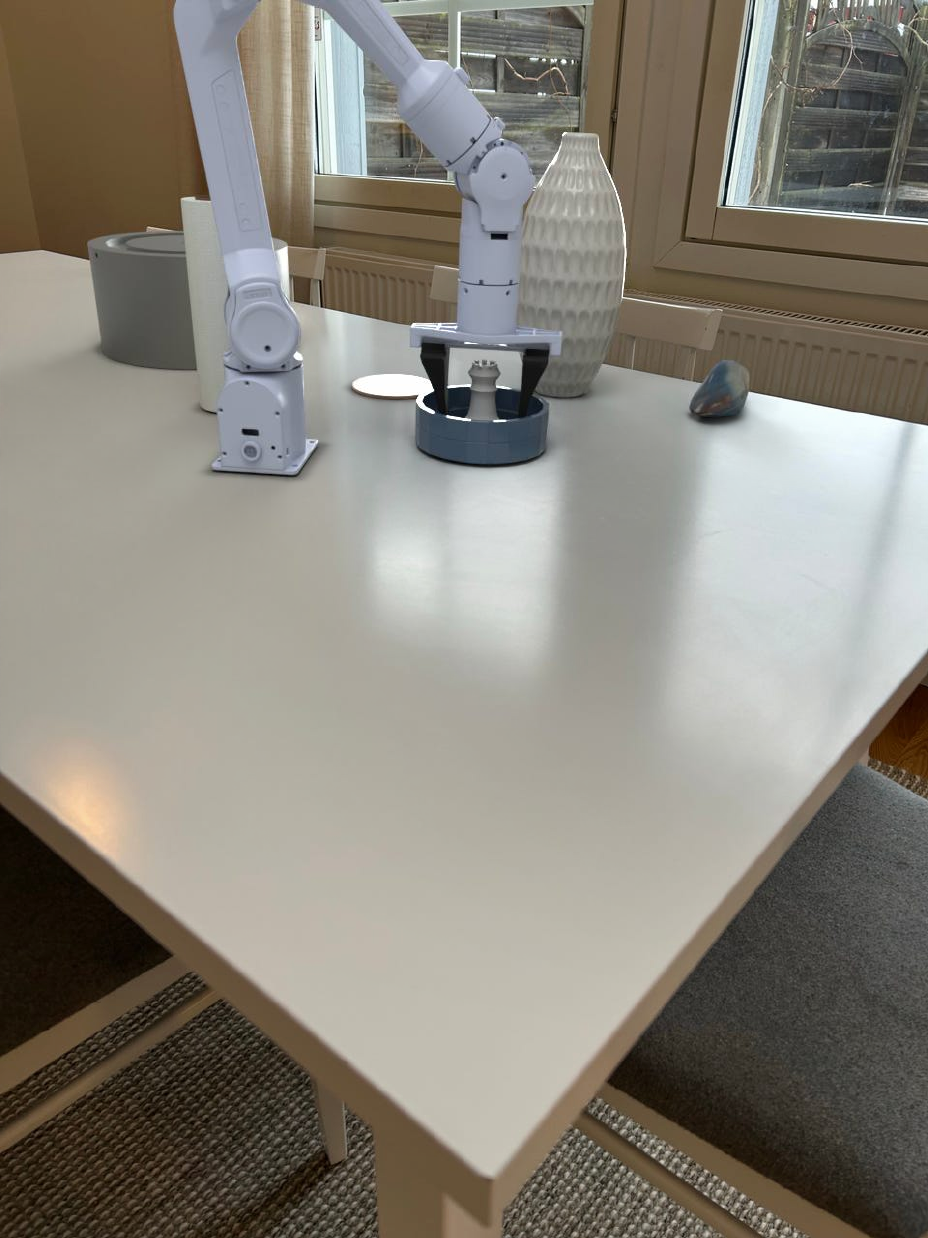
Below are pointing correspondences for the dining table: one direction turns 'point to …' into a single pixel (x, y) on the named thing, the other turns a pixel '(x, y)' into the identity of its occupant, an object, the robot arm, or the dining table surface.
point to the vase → (573, 264)
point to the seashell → (722, 391)
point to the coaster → (391, 386)
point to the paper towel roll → (206, 296)
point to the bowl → (481, 428)
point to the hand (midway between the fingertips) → (481, 422)
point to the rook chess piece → (483, 391)
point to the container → (150, 297)
